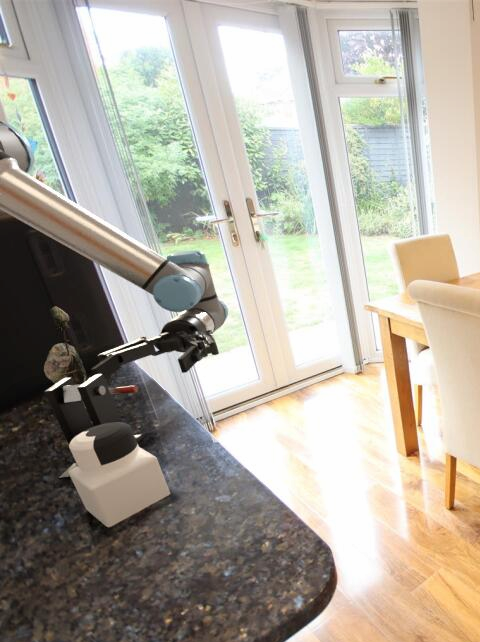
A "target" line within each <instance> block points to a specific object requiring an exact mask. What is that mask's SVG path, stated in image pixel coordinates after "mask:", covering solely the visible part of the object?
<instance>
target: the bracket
mask: <svg viewBox="0 0 480 642" xmlns="http://www.w3.org/2000/svg"><path fill="white" fill-rule="evenodd" d="M70 385H75V384H74V381H73V379H72V377H71V378H64V379H62V380H61V381H59V382H58V383H56V384H55V383H54V384H53V385H52V386H50V387H49V388H47V389H45V390H44V391H43V393H44V395H45V397H46V399H47V400H48V404H49V406H50V408H51V410H52V412H53V414H54V416H55V418H56V421H57V422H58V425H59V427H60V429H61V431H62V433H63V436H64V438H65V440H66V442H67V444H68V445H69V444H70V442H71V441H72V439H73V438H74V437H76V436H77V435H79V434H80V433H82V432H83V431H85V430H87V429H89V428H92V427H95V426H98V425H101V424H105V423H113V422H123V420H122V418H121V415H120V413H119V410H118V407H117V406H116V403H115V401H114V398H113V395H111V393H110V391H109V388H110V387H109V386H108V384H107V381H106V379H105V378H104V376H103V374H97V375H94V376H93V375H92V376H91V377H89V378H88V379H87V381H86V382H84V383H83V384H82V385H80V386H79V387H77V389H78V391H79V393H80V396H81V398H82V400H83V402H84V404H83V402H82V401H81V402H70V403H64V396H63V386H70ZM84 405H85V406H84ZM85 407H86V408H85ZM147 435H148V433H140V434H134V436H135V439H136V441H137V443H138V445H140V443H141V442H142V441H143V440H144V439H145V438H146V437H147ZM76 467H78V465H77V463H76V461H75V462H73V464H72V465H70V466H69V467H68V468H67V469H66V470H65V471H64V472H63V473H62V474H61V475H60V476H58V478H57V479H58V480H64V479H71V477H70V475H69V471H70V470H71V469H74V468H76Z"/></svg>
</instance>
